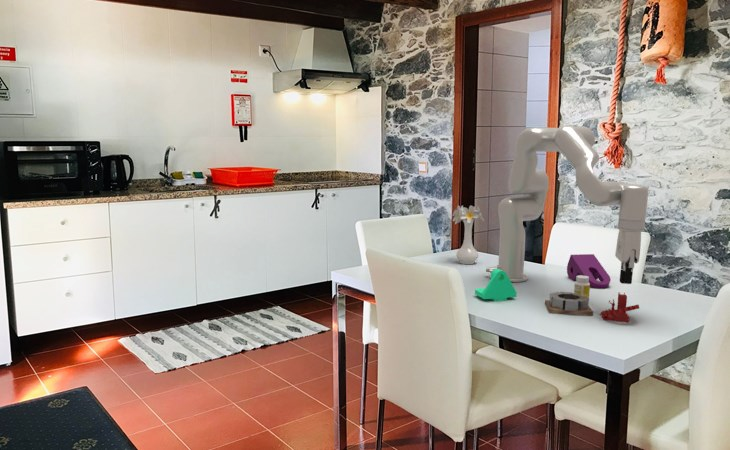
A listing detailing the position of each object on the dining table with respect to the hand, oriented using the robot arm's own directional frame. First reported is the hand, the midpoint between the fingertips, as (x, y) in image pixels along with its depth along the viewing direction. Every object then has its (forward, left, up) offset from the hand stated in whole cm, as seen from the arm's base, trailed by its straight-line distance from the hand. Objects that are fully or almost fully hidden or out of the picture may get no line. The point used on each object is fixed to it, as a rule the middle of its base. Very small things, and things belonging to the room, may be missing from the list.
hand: (625, 282), depth 190 cm
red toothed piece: (-4, -7, -10) cm, 13 cm away
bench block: (-17, 0, -10) cm, 19 cm away
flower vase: (-49, +65, -10) cm, 82 cm away
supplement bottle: (-11, +11, -10) cm, 18 cm away
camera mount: (-39, +10, -10) cm, 41 cm away
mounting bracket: (-2, +39, -10) cm, 40 cm away
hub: (-17, 0, -8) cm, 19 cm away
